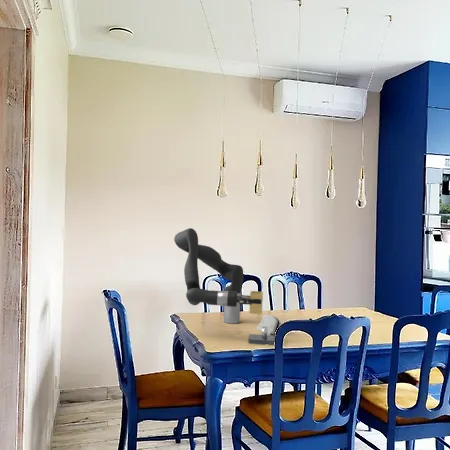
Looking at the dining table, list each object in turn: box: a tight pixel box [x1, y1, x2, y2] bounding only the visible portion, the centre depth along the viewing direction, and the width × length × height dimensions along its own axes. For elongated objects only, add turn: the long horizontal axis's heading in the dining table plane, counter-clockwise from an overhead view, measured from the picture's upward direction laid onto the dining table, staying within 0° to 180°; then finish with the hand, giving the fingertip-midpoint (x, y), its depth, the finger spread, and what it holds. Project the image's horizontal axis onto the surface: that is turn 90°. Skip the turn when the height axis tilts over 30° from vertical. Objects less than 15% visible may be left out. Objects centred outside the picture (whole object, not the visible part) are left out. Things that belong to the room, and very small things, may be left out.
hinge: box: [256, 314, 282, 335], centre depth 253 cm, size 17×5×10 cm, turn 21°
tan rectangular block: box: [248, 290, 264, 315], centre depth 231 cm, size 6×6×10 cm
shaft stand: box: [248, 327, 276, 346], centre depth 231 cm, size 11×15×7 cm
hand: (261, 300), depth 231 cm, fingers closed on tan rectangular block, 6 cm apart
